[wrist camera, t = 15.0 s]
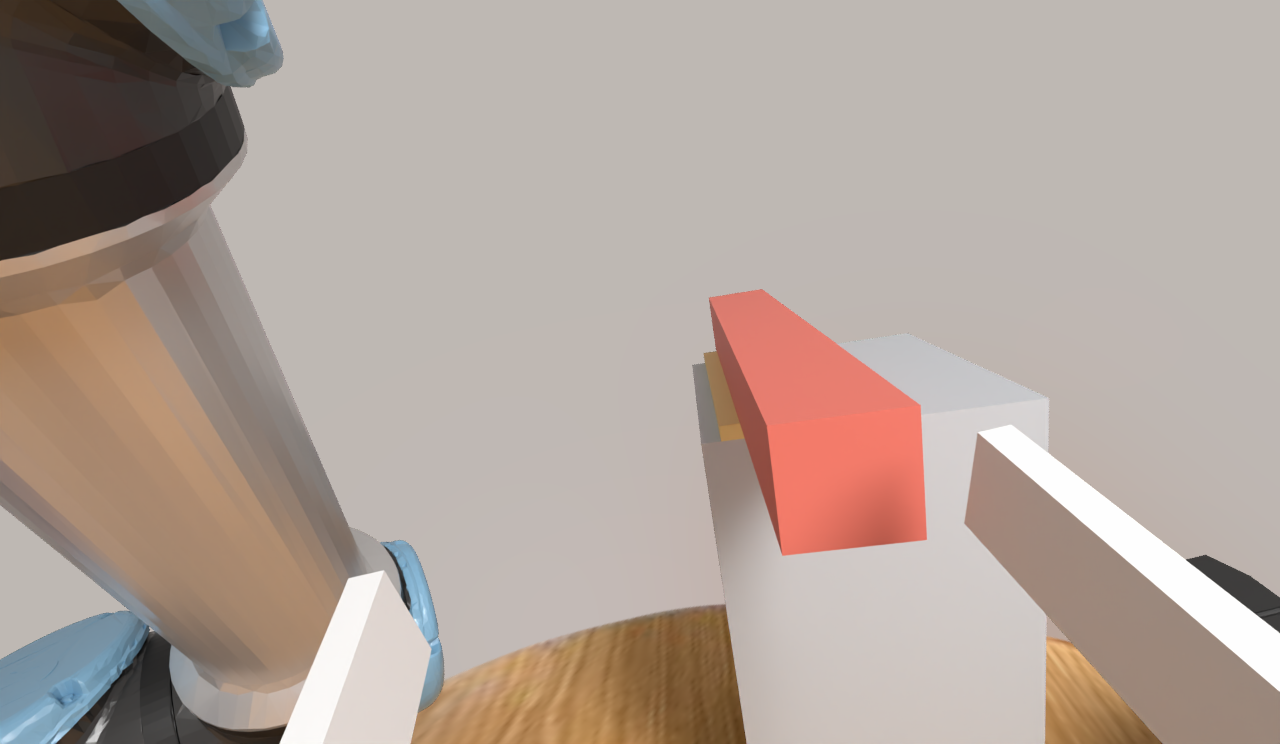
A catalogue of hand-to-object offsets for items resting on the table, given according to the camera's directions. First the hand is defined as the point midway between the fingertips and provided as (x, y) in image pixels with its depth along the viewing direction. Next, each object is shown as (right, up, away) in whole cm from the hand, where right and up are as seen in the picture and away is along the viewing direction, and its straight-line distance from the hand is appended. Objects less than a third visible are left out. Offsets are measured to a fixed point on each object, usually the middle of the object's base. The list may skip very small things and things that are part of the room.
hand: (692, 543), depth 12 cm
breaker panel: (+15, -25, +29) cm, 41 cm away
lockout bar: (+6, +2, +17) cm, 18 cm away
